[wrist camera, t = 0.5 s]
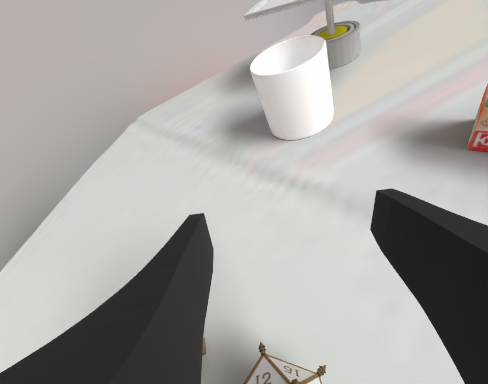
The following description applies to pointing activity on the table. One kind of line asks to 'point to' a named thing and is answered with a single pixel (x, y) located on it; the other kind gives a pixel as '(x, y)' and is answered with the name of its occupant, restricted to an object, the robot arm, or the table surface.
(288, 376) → the game die
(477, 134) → the stack of blocks
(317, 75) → the cup
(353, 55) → the solar panel model
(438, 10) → the table surface
